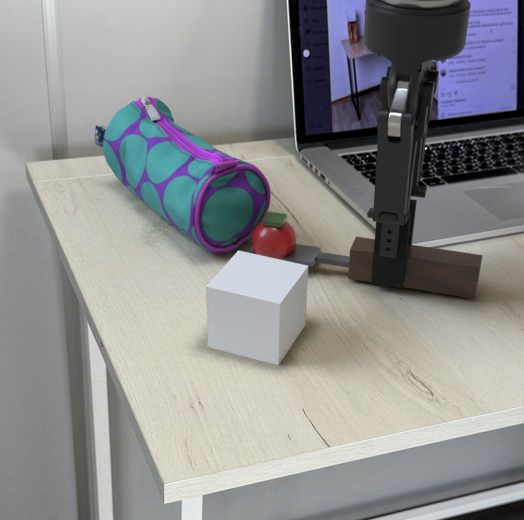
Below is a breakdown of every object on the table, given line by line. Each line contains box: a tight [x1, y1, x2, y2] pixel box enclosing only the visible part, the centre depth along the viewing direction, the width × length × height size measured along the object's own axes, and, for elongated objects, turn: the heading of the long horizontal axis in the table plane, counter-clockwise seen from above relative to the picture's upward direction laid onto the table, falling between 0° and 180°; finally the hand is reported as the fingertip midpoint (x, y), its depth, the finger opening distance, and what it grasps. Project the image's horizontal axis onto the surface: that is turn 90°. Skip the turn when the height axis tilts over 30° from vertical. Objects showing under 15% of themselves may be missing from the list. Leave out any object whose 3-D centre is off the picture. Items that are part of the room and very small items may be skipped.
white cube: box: [205, 250, 309, 366], centre depth 69 cm, size 6×6×6 cm
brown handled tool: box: [246, 211, 483, 299], centre depth 77 cm, size 20×4×4 cm, turn 73°
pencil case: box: [94, 95, 272, 255], centre depth 86 cm, size 21×9×10 cm, turn 33°
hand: (390, 274), depth 77 cm, fingers closed on brown handled tool, 2 cm apart
